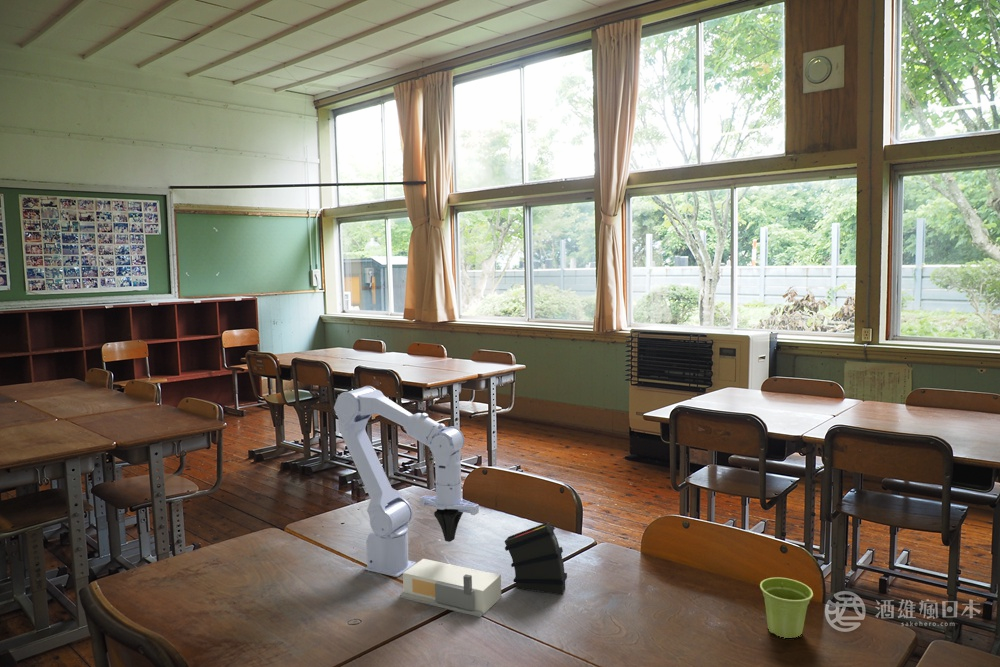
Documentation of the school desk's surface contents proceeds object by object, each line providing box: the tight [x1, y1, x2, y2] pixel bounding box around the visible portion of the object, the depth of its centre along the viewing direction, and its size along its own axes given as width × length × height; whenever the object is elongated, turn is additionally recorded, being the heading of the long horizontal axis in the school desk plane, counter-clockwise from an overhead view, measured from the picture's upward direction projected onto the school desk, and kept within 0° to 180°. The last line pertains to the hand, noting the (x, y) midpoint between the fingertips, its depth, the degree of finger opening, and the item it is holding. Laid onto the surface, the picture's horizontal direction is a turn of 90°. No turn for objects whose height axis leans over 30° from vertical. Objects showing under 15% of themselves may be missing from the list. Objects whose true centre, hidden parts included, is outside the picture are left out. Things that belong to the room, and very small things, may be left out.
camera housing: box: [399, 558, 502, 618], centre depth 148 cm, size 20×9×5 cm, turn 63°
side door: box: [435, 574, 474, 611], centre depth 143 cm, size 9×1×7 cm, turn 63°
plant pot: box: [759, 577, 814, 639], centre depth 132 cm, size 9×9×9 cm
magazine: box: [504, 521, 568, 596], centre depth 151 cm, size 4×13×15 cm, turn 70°
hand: (449, 539), depth 156 cm, fingers closed
